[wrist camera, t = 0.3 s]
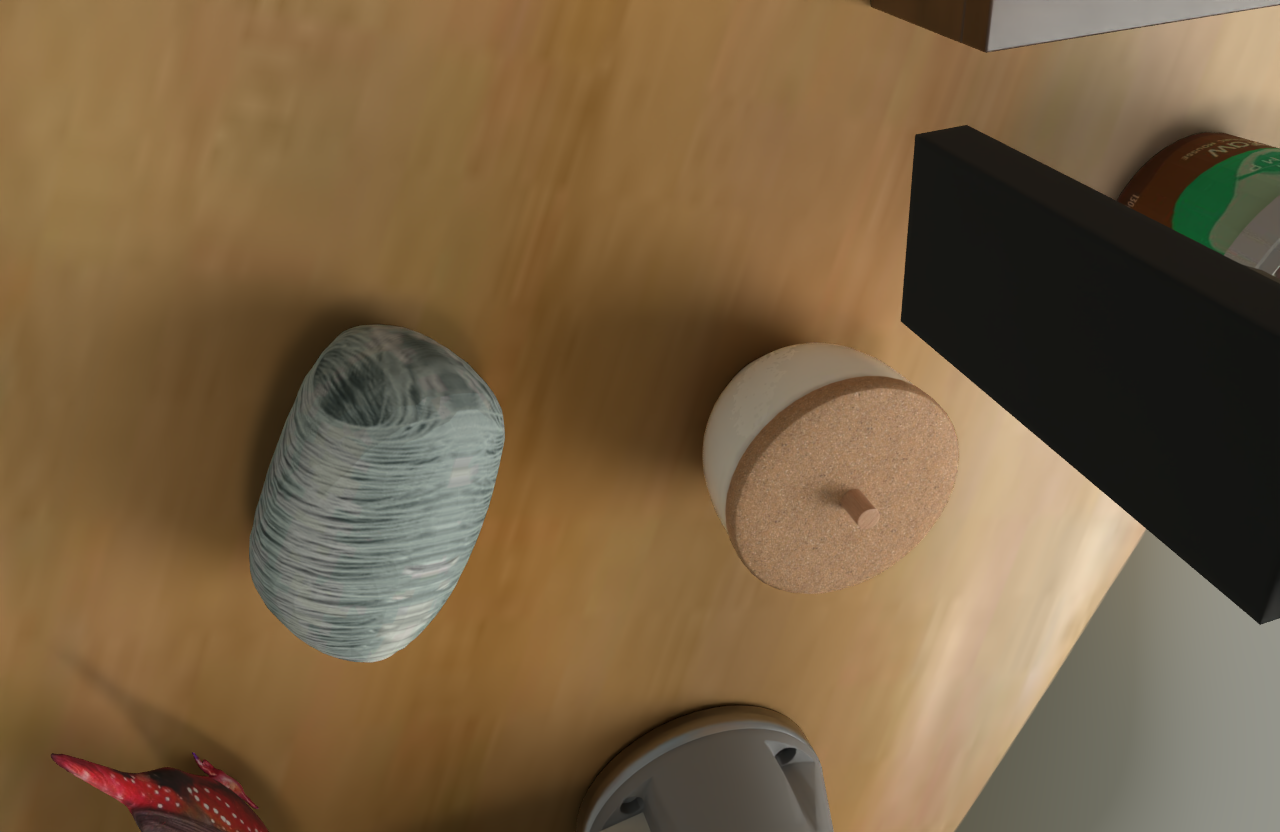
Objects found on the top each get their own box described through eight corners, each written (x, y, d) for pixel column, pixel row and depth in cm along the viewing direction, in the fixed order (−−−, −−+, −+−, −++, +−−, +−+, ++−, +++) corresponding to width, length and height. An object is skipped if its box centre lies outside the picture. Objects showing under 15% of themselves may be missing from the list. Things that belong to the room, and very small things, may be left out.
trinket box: (625, 436, 50) (697, 560, 42) (782, 262, 48) (887, 359, 40) (768, 529, 56) (853, 652, 48) (912, 378, 54) (1026, 482, 46)
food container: (1303, 80, 52) (1502, 141, 44) (1278, 197, 55) (1459, 274, 47) (1084, 142, 50) (1252, 219, 42) (1073, 261, 53) (1225, 353, 45)
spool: (275, 279, 37) (409, 498, 33) (481, 284, 45) (610, 465, 41) (156, 522, 44) (256, 727, 40) (351, 492, 52) (451, 663, 48)
